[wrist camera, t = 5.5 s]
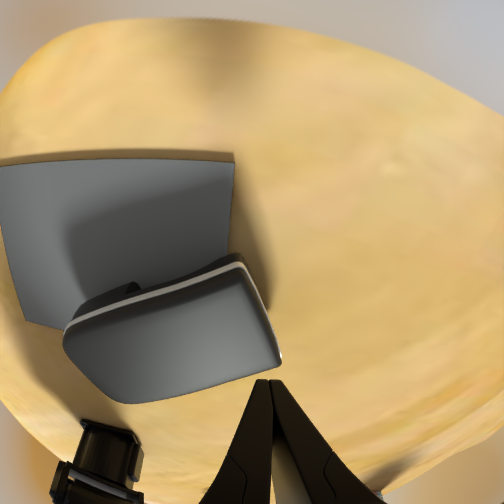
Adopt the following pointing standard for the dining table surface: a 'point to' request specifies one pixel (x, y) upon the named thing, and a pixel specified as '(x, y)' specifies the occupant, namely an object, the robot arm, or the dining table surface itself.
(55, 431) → the dining table surface
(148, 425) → the dining table surface
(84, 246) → the mat
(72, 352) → the battery charger
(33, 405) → the dining table surface
